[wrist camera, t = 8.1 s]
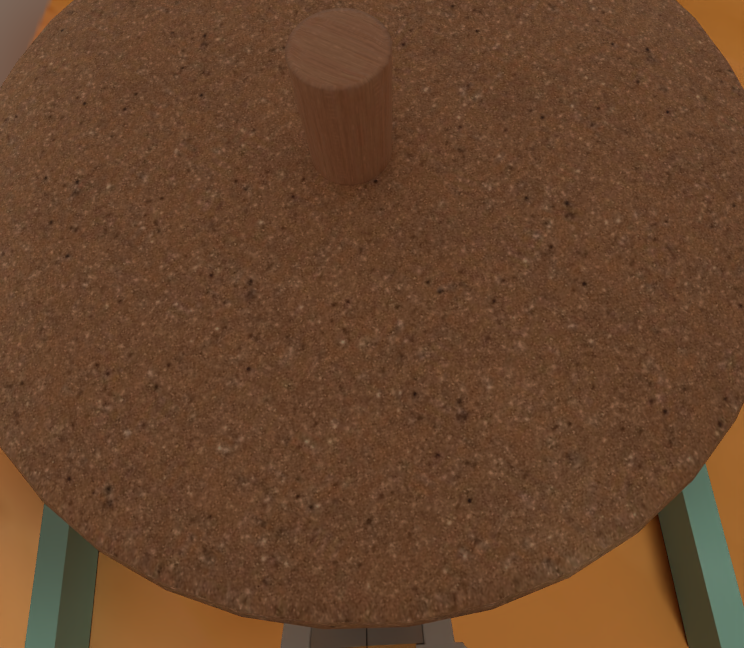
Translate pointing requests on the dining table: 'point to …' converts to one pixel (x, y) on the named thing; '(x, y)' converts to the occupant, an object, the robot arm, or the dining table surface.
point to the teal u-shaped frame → (677, 519)
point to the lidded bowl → (368, 291)
